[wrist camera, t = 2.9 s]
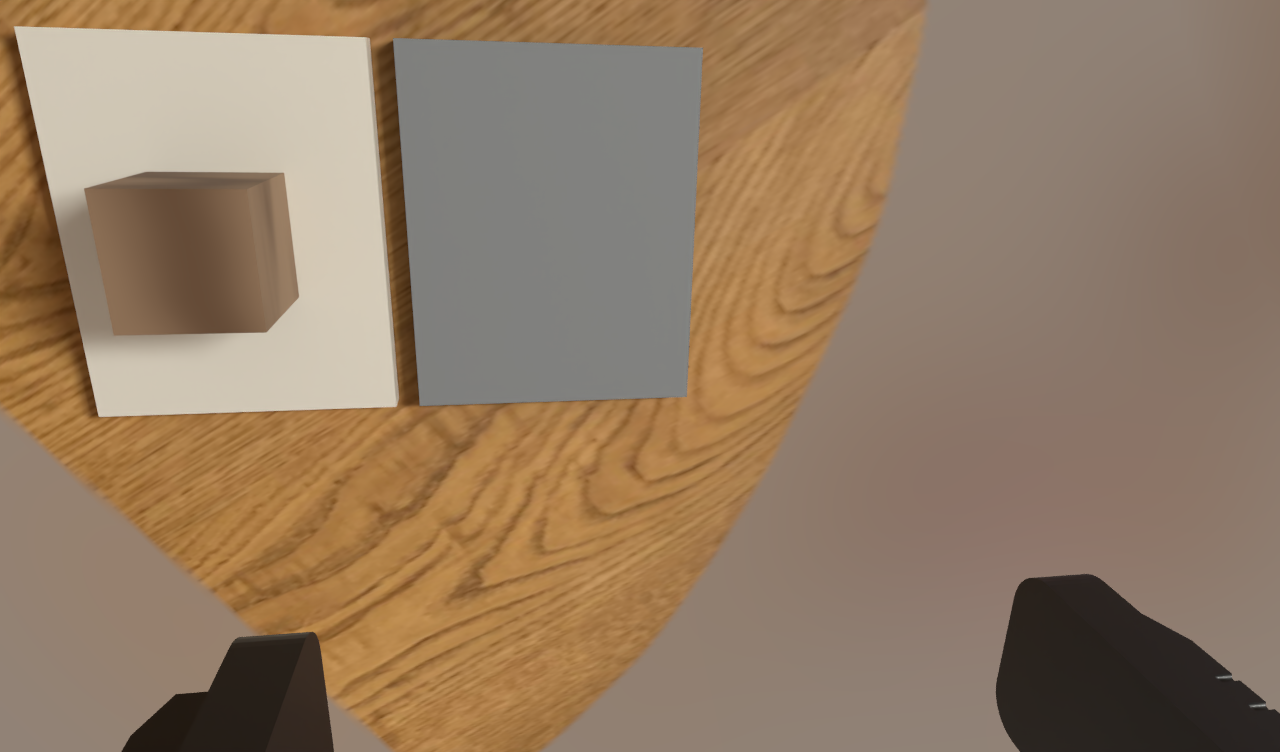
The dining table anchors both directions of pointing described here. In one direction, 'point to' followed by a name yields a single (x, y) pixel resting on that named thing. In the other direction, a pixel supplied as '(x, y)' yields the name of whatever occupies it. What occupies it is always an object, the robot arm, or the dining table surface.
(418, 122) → the slate mat
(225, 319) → the walnut block
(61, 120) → the cream mat
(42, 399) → the dining table surface
